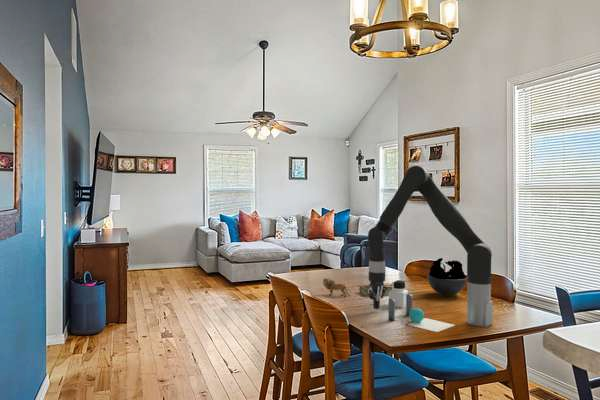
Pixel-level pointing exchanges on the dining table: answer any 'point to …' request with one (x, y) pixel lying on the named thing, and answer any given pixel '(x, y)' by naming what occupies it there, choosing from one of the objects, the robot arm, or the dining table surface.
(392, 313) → the left post
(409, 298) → the right post
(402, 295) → the medicine bottle
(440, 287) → the coal bowl
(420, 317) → the ball
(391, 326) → the dining table surface
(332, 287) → the lion figurine
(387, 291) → the hardcover book
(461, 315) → the dining table surface
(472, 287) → the robot arm
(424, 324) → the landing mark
